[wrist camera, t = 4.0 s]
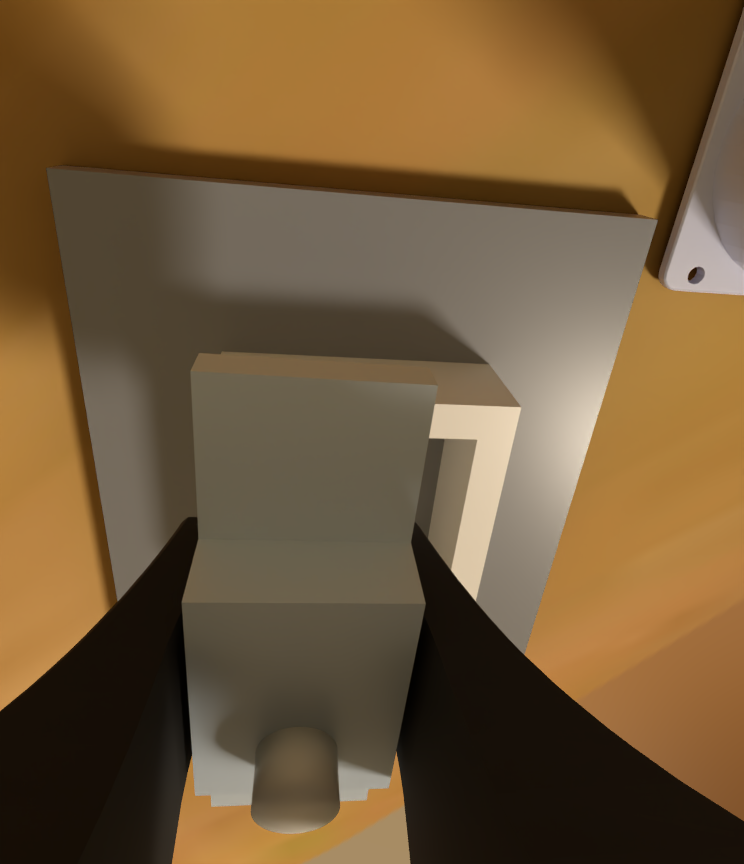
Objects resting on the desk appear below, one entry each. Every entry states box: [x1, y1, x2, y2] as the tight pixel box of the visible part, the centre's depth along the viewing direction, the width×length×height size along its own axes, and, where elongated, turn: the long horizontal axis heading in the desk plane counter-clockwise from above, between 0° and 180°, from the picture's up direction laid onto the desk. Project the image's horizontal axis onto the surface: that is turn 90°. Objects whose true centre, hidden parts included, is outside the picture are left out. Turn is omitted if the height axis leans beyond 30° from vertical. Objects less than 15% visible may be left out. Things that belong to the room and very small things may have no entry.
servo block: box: [182, 353, 438, 834], centre depth 10 cm, size 3×9×6 cm, turn 174°
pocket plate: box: [46, 165, 658, 654], centre depth 18 cm, size 16×18×4 cm
